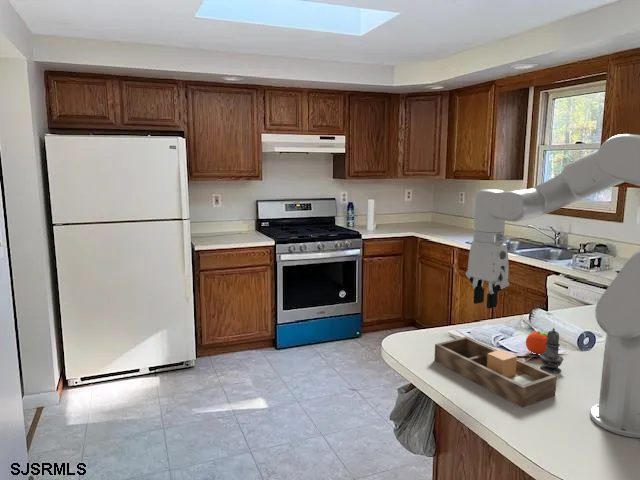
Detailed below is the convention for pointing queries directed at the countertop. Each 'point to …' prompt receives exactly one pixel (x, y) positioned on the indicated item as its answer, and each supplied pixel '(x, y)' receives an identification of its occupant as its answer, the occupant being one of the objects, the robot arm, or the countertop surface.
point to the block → (502, 363)
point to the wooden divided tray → (473, 365)
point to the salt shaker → (551, 354)
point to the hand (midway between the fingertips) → (485, 304)
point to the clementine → (537, 342)
